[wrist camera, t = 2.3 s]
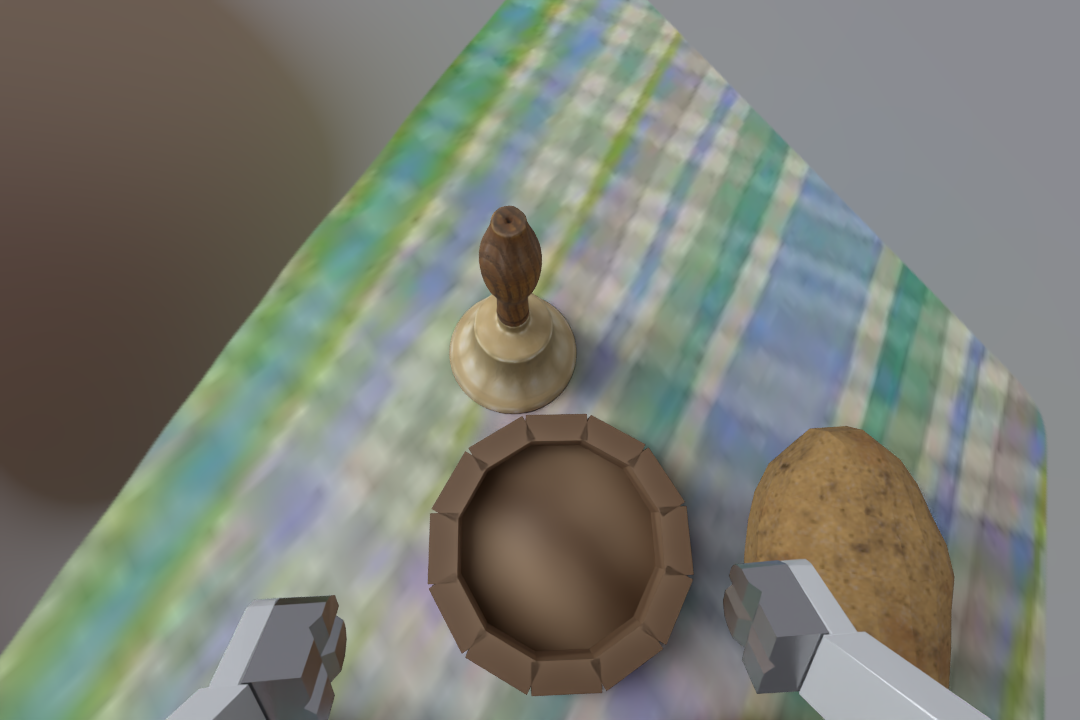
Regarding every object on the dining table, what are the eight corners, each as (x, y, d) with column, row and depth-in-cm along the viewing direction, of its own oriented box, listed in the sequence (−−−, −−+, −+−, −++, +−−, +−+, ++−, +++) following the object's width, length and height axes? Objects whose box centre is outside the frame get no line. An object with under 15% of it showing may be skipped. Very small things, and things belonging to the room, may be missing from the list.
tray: (610, 727, 27) (621, 753, 24) (390, 594, 28) (376, 603, 26) (709, 492, 31) (729, 489, 28) (511, 384, 32) (511, 372, 29)
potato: (863, 443, 32) (971, 422, 25) (892, 694, 28) (1032, 761, 21) (714, 431, 32) (776, 406, 24) (721, 682, 28) (799, 746, 20)
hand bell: (571, 420, 32) (624, 335, 17) (441, 407, 32) (373, 310, 16) (580, 300, 34) (632, 130, 19) (458, 288, 34) (414, 107, 19)
